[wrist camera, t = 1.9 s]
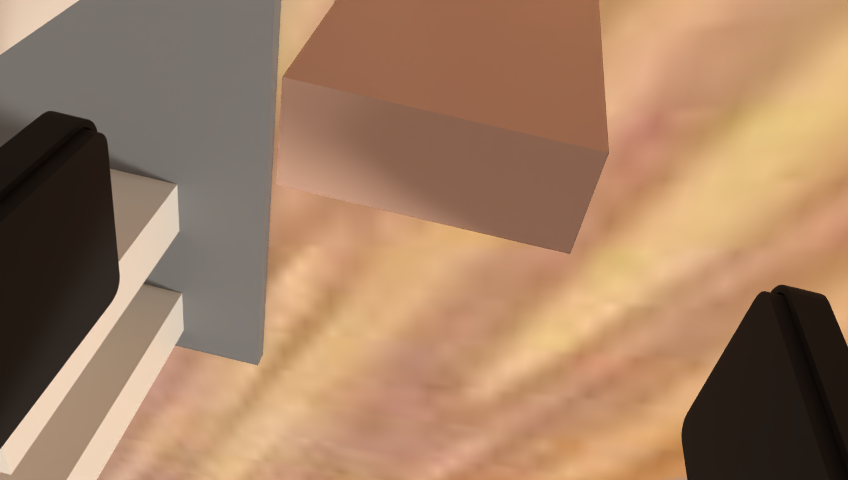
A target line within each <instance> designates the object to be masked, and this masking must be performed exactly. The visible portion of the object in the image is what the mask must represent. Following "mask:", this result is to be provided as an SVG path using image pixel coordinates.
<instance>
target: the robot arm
mask: <svg viewBox="0 0 848 480" xmlns="http://www.w3.org/2000/svg"><path fill="white" fill-rule="evenodd" d="M119 282H120V272H119V261H118V250H117V240H116V229H115V218H114V207H113V196H112V185H111V174H110V163H109V153H108V143H107V139H106V137H105V135H104V134H102V133H99V132H97V128H96V126H95V124H94V122H92V121H91V120H89V119H85V118H81V117H76V116H72V115H68V114H64V113H60V112H55V111H47V112H45V113H43V114H42V115H40V116H39V117H38V118H36V119H35V120H34V121H33V122H31V123H30V124H29V125H28V126H26V127H25V128H24V129H23V130H21V131H20V132H19V133H18V134H16V135H15V136H14V137H13V138H11V139H10V140H9V141H7V142H6V143H5V144H4V145H2V146H1V147H0V449H1V448H2V446H3V445H4V444H5V442H6V441H7V440H8V438H9V437H10V436H11V435H12V433H13V432H14V431H15V429H16V428H17V427H18V425H19V424H20V423H21V421H22V420H23V419H24V417H25V416H26V415H27V413H28V412H29V411H30V409H31V408H32V407H33V406H34V404H35V403H36V402H37V400H38V399H39V398H40V396H41V395H42V394H43V392H44V391H45V390H46V388H47V387H48V386H49V384H50V383H51V382H52V380H53V379H54V378H55V376H56V375H57V374H58V373H59V371H60V370H61V369H62V367H63V366H64V365H65V363H66V362H67V361H68V359H69V358H70V357H71V355H72V354H73V353H74V351H75V350H76V349H77V347H78V346H79V345H80V344H81V342H82V341H83V340H84V338H85V337H86V336H87V334H88V333H89V332H90V330H91V329H92V328H93V326H94V325H95V324H96V322H97V321H98V320H99V318H100V317H101V316H102V314H103V313H104V312H105V311H106V309H107V308H108V307H109V305H110V304H111V303H112V301H113V299H114V298H115V296H116V293H117V291H118V287H119ZM682 445H683V452H684V459H685V466H686V473H687V480H848V346H847V344H846V342H845V339H844V337H843V334H842V332H841V330H840V327H839V325H838V322H837V320H836V318H835V315H834V313H833V311H832V308H831V306H830V303H829V301H828V300H827V298H826V297H825V296H824V295H822V294H820V293H815V292H811V291H807V290H803V289H799V288H794V287H790V286H786V285H778V286H777V287H775V288H774V289H773V290H772V291H771V293H770V292H766V291H763V292H761V293H759V294H758V295H757V297H756V298H755V300H754V301H753V303H752V305H751V306H750V308H749V310H748V311H747V313H746V315H745V317H744V318H743V320H742V322H741V323H740V325H739V327H738V328H737V330H736V332H735V333H734V335H733V337H732V338H731V340H730V342H729V344H728V345H727V347H726V349H725V350H724V352H723V354H722V355H721V357H720V359H719V360H718V362H717V364H716V366H715V367H714V369H713V371H712V372H711V374H710V376H709V377H708V379H707V381H706V382H705V384H704V386H703V387H702V389H701V391H700V393H699V394H698V396H697V398H696V399H695V401H694V403H693V404H692V406H691V408H690V409H689V411H688V413H687V415H686V417H685V419H684V423H683V427H682Z"/></svg>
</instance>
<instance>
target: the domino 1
mask: <svg viewBox="0 0 848 480" xmlns="http://www.w3.org/2000/svg"><path fill="white" fill-rule="evenodd" d="M77 1H79V0H0V55H1V54H2V53H4V52H5V51H6V50H8V49H9V48H11V47H12V46H14V45H15V44H17V43H18V42H19V41H21V40H22V39H24V38H25V37H27V36H28V35H30V34H31V33H32V32H34V31H35V30H37V29H38V28H40V27H41V26H43V25H44V24H46V23H47V22H48V21H50V20H51V19H53V18H54V17H56V16H57V15H59V14H60V13H61V12H63V11H64V10H66V9H67V8H69V7H70V6H72V5H73V4H74V3H76V2H77Z"/></svg>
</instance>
